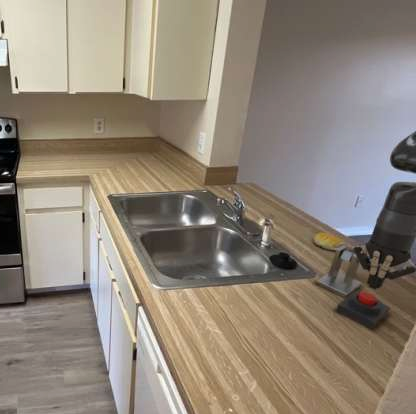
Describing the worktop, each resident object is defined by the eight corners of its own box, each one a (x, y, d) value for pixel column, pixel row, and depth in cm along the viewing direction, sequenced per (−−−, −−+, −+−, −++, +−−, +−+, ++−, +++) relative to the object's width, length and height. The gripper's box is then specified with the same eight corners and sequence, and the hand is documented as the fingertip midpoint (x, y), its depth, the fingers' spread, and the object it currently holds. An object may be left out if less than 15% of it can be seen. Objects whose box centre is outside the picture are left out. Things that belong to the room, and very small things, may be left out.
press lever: (348, 254, 103) (351, 247, 103) (368, 262, 99) (372, 255, 99) (333, 255, 96) (337, 248, 96) (355, 264, 92) (359, 256, 91)
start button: (360, 295, 89) (363, 290, 88) (377, 302, 86) (379, 297, 85) (355, 300, 87) (357, 294, 86) (371, 308, 84) (373, 302, 83)
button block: (352, 297, 93) (357, 285, 92) (387, 313, 87) (392, 301, 86) (336, 310, 88) (340, 298, 87) (371, 329, 82) (377, 316, 80)
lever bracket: (331, 272, 104) (342, 240, 99) (360, 285, 98) (373, 251, 93) (315, 283, 99) (326, 249, 94) (345, 298, 93) (358, 262, 88)
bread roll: (322, 237, 125) (325, 228, 124) (346, 248, 118) (350, 238, 116) (307, 241, 123) (309, 231, 121) (330, 253, 115) (333, 243, 113)
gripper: (439, 233, 74) (411, 295, 81) (369, 213, 84) (350, 270, 91) (428, 242, 70) (400, 307, 77) (357, 220, 81) (337, 279, 88)
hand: (373, 287), depth 84 cm, fingers closed
